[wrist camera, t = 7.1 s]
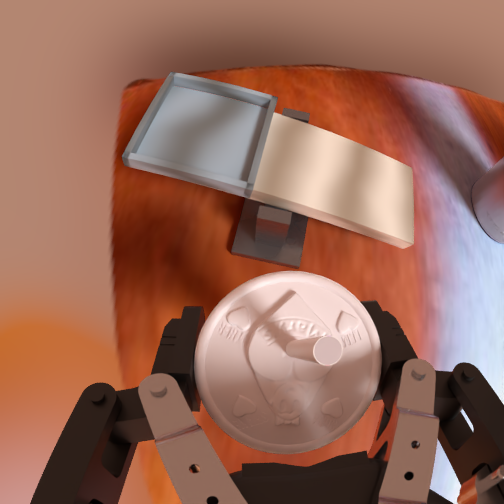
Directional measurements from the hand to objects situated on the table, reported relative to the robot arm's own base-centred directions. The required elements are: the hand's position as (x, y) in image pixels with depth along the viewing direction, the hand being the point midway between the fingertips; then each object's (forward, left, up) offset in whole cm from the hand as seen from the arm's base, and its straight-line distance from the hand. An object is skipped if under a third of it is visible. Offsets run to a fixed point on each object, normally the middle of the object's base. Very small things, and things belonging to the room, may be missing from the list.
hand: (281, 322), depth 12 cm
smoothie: (+1, +1, -7) cm, 7 cm away
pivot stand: (-11, -8, -13) cm, 19 cm away
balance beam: (-11, -8, -8) cm, 16 cm away
